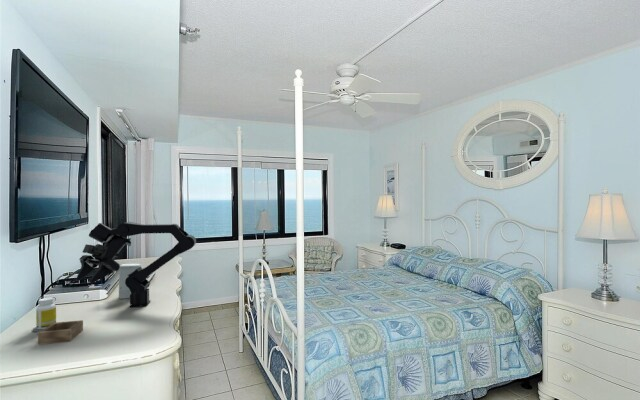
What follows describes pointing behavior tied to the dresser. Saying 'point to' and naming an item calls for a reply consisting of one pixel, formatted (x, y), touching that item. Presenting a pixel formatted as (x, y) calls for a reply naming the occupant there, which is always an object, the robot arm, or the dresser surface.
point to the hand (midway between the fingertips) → (83, 281)
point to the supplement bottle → (45, 313)
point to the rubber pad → (37, 329)
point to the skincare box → (123, 274)
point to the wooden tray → (60, 332)
